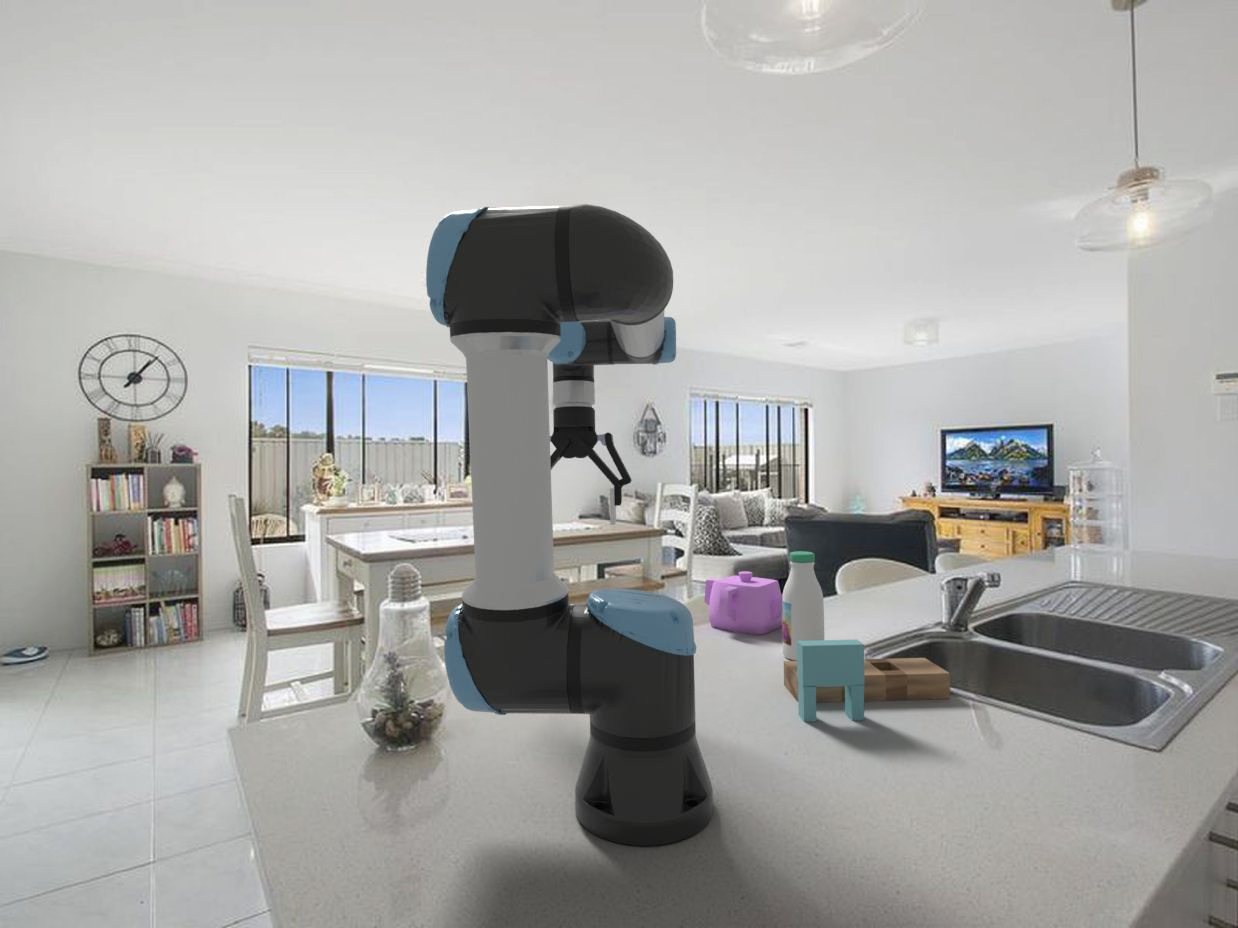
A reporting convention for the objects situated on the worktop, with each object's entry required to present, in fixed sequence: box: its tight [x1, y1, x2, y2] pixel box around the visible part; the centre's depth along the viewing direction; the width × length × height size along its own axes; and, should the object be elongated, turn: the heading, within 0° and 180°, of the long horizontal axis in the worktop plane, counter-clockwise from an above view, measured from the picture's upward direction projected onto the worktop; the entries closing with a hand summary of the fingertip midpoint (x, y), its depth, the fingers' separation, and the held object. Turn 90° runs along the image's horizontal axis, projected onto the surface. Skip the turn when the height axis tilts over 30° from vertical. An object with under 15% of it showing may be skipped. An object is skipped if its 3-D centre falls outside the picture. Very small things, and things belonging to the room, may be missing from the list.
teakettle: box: [703, 570, 783, 636], centre depth 148 cm, size 17×17×12 cm
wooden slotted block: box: [783, 657, 951, 703], centre depth 106 cm, size 8×24×4 cm, turn 91°
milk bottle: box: [781, 550, 825, 661], centre depth 125 cm, size 8×8×20 cm
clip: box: [797, 638, 865, 723], centre depth 95 cm, size 3×9×11 cm, turn 92°
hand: (575, 524), depth 117 cm, fingers open, 13 cm apart
